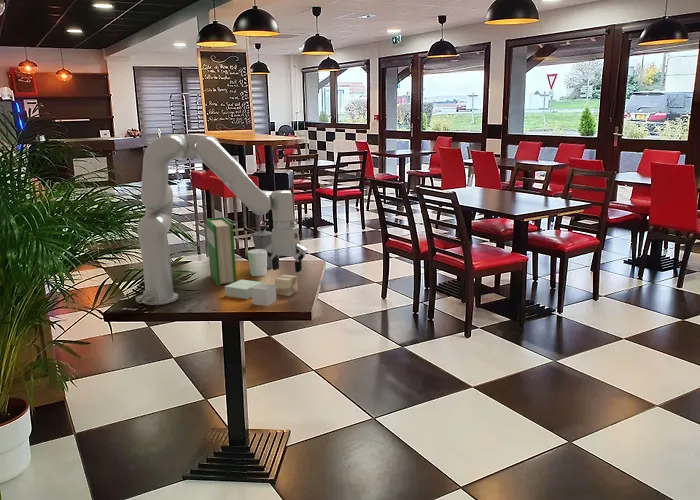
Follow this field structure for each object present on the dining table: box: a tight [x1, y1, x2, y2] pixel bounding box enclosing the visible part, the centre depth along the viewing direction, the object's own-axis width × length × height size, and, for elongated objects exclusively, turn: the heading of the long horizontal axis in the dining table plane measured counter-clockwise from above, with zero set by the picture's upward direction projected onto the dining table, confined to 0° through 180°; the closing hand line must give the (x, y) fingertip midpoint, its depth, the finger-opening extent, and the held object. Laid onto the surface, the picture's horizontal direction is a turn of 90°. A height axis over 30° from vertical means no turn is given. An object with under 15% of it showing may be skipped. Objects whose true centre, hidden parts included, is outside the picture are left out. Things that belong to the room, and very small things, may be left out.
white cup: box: [247, 248, 268, 277], centre depth 237 cm, size 8×8×10 cm
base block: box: [224, 279, 264, 300], centre depth 211 cm, size 10×10×4 cm
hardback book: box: [205, 216, 238, 287], centre depth 229 cm, size 18×7×24 cm, turn 22°
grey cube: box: [251, 282, 277, 307], centre depth 200 cm, size 6×6×6 cm
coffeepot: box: [251, 226, 273, 270], centre depth 249 cm, size 15×9×18 cm, turn 4°
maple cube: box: [274, 274, 299, 297], centre depth 211 cm, size 6×6×6 cm
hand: (287, 270), depth 210 cm, fingers open, 9 cm apart
